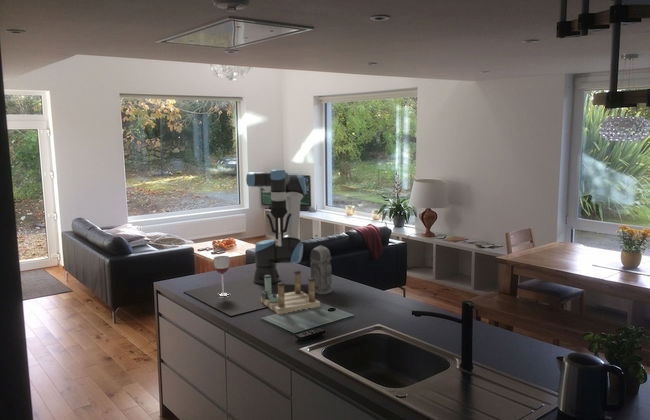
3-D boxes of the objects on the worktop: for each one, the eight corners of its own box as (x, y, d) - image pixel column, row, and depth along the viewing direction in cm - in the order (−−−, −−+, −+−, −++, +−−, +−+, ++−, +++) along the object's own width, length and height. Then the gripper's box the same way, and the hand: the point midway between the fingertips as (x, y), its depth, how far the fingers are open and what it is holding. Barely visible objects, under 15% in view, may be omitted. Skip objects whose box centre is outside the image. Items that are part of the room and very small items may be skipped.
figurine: (323, 295, 282) (323, 248, 279) (306, 290, 293) (305, 244, 289) (337, 292, 289) (337, 245, 285) (320, 286, 299) (319, 241, 296)
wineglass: (232, 292, 290) (231, 255, 287) (228, 297, 282) (226, 259, 279) (218, 292, 291) (216, 255, 288) (213, 297, 282) (211, 259, 280)
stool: (261, 301, 274) (260, 275, 272) (300, 295, 284) (300, 269, 282) (278, 314, 255) (277, 285, 253) (320, 306, 265) (319, 279, 263)
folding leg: (280, 301, 264) (280, 279, 263) (272, 303, 262) (272, 281, 261) (271, 295, 275) (270, 274, 273) (262, 296, 273) (262, 275, 271)
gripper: (290, 198, 282) (291, 243, 285) (265, 199, 280) (266, 244, 283) (292, 200, 274) (293, 246, 278) (266, 201, 272) (267, 247, 276)
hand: (279, 245), depth 280 cm, fingers closed
